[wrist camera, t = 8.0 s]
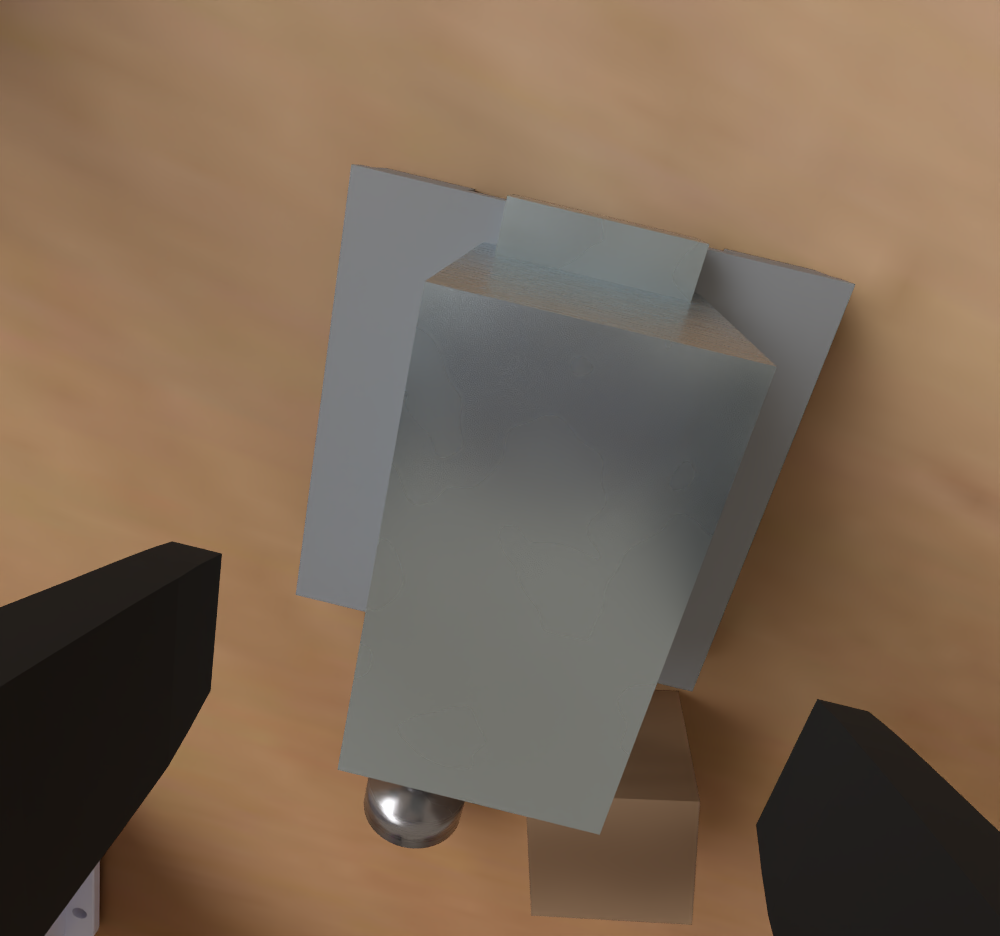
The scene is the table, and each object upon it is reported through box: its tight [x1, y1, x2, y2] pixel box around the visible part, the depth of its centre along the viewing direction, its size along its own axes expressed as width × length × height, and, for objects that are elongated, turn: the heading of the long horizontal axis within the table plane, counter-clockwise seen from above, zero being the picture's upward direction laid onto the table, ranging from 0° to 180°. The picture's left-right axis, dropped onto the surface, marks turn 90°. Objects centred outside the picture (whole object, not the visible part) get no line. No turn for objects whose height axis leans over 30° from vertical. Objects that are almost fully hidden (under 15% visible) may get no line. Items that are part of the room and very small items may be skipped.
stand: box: [296, 164, 855, 691], centre depth 17 cm, size 10×10×2 cm
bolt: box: [364, 777, 465, 848], centre depth 20 cm, size 6×3×3 cm, turn 168°
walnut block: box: [527, 690, 700, 925], centre depth 19 cm, size 4×4×4 cm
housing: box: [338, 194, 777, 835], centre depth 13 cm, size 10×4×6 cm, turn 167°
